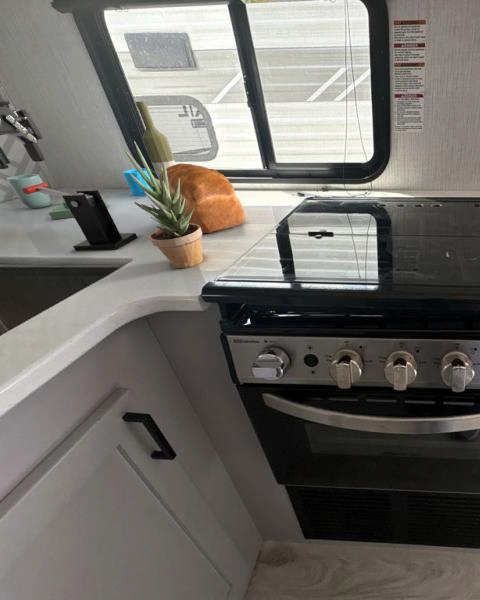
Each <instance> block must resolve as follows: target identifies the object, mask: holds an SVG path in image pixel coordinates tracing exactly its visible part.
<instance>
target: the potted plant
mask: <svg viewBox="0 0 480 600" xmlns="http://www.w3.org/2000/svg"><path fill="white" fill-rule="evenodd" d="M133 143H134V146H135V148H136V151H137V153H138V156H139V158H140V161H141V163H142V165H143V167H144V168H145V169H146V171H147V173H148V175H149V177H150V179H151V180H150V179H149V178H148V177H147V175H146V174H145V173H144V172H143V170H142V169H143V168H141V166H140V165H139V164H138V163H137V162H136V161H135V159H134V158H133V157H132V156H131V155H130V153H129V152H128V151H127V150H126V149H124V153H125V154H126V156H127V157H128V159H129V160H130V161H129V162H131V165H133V167H134V169H137V171H138V172H139V174H140V175H141V176H142V178H143V179H144V180H145V182H146V183H147V184H148V185H149V187H150V188H151V189H152V190H150V189H149V188H148V187H146V186H145V185H144V184H143V183H141V182H140V181H139V180H138V179H137V178H135V177H134V176H133V175H132V174H131V173H129V172H128V173H129V174H130V176H131V177H132V178H133V179H134V180H135V182H136V183H137V184H138V185H139V186H140V187H141V188H142V189H143V190H144V192H145V194H146V195H145V196H147V198H148V199H149V200H150V201H151V202H152V204H151V205H150V206H148V205H146V204H144V203H141V204H140V203H138V202H137V201H133V204H135V205H136V206H137V207H138V208H140V209H141V210H143V211H145V212H147V213H148V214H150V215H152V216H150V219H152V220H153V221H155V222H157V223H158V224H159V225H160V226H161V227H160V226H158V225H156V226H155V227H156V228H157V229H156V230H155V231H153V232H152V233H151V234H149V236H148V239H149V240H150V242H151V243H152V245H153V246H154V247H157V248H158V250H159V251H160V252H161V253H162V254H163V255H164V256H165V258H166V259H167V260H168V261H169V262H170V264H171V265H172V266H173V267H174V268H177V269H186V268H190V267H195V266H196V265H198V264H201V263H202V262H203V260H204V257H203V245H202V236H203V233H202V231H201V228H200V226H199V225H198V224H192V223H188V222H189V220H190V218H191V215H192V212H193V210H194V208H195V207H194V208H193V209H192V210H191V211H190V212H189V213H188V214H187V215H186V216H185V217H184V215H185V213H186V211H187V209H188V206H189V205H187V206H186V208H185V210H184V212H183V213H182V211H183V208H184V202H185V199H183V201H182V202H181V197H182V195H181V194H180V196H179V191H180V180H179V178H178V182H177V187H176V190H175V192H174V194H173V196H172V197H171V196H170V192H169V184H168V177H167V172H166V167H165V164H164V161H163V169H162V168H161V184H162V187H161V186H160V184H159V183H158V182H157V180H156V178H155V176H154V174H153V173H152V170H151V169H150V167H149V165H148V163H147V161H146V160H145V157H144V155H143V154H142V152H141V150H140V148H139V146H138V145H137V142H136V141H135V140H134V141H133ZM153 204H154V205H153Z"/></svg>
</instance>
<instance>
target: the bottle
mask: <svg viewBox="0 0 480 600" xmlns="http://www.w3.org/2000/svg"><path fill="white" fill-rule="evenodd" d="M135 106H136V108H137V109H138V112H139V115H140V117H141V120H142V123H143V125H144V127H145V130H144V132H143V134H142V136H141V140H142V144H143V146H144V147H145V150H146V152H147V155H148V157H149V160H150V162H151V164H152V166H153V169H154V172H155V174H156V176H157V178H158V180H159V176H160V175H161V168H162V169H163V161H164V164H165V167H166V168H167V167H170V166H173V165H176V164H177V163H176V161H175V158H174V155H173V152H172V149H171V147H170V143H169V141H168V137H167V136H166V135H164V133H162V132H161V131H159V130H158V129H157V128H156V127H155V124H154V122H153V119H152V116H151V114H150V111H149V108H148V105H147V101H135ZM159 182H160V180H159Z"/></svg>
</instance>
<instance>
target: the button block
mask: <svg viewBox="0 0 480 600" xmlns="http://www.w3.org/2000/svg"><path fill="white" fill-rule="evenodd" d="M102 199H103V201H104V203H105V205H106V207H107V208H108V206H109V205H108V203H107V201H106V199H105V198H102ZM48 214H49V215H50V217H51V219H52V220H54V221H55V220H61V219H68V218H74V216H73V214H72V213H71V211H70V209H69V207H68V206H67V204H66V202H65V200H64V199H63V200H62V201H61V204H58V205H57V206H56V207H55V208H53V209H52V210H51V211H49V213H48Z"/></svg>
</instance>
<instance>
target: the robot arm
mask: <svg viewBox="0 0 480 600" xmlns="http://www.w3.org/2000/svg"><path fill="white" fill-rule="evenodd" d="M10 104H11V100H10V98H9V96H8V95H7V93H6V91H5V89H4V87H3V86H2V84H1V83H0V136H4V135H10V136H12V137H15V138H16V139H18V140H19V141H20V142H21V143H23V144H22V145H23V148H24V150H25V151H27V154H28V156H29V157H30V159H31V161H33V162H35V163H37V162H44V161H45V157H44V154H43V152H42V150H41V149H40V147H39V145H38V141H39V140H43V138H44V137H43V135H42V133H41V131H40V130H39V128H38V126H37V125H36V122H35V120H34V119H33V118H32V116H31V114H30V113H29V111H28V110H27V109H23V108H22V109H12V108H11V107H10ZM7 169H9V165H8V163H7V162H6V160H5V158H4V157H3V155H2V153H1V152H0V170H7Z"/></svg>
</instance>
